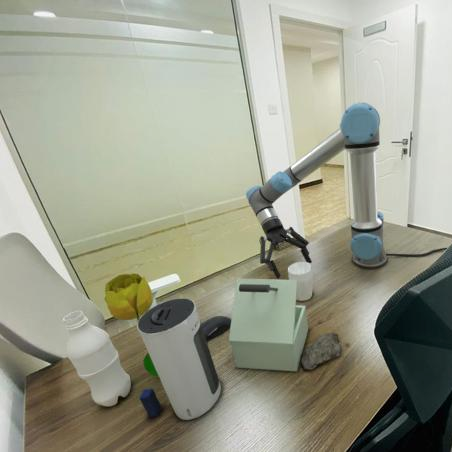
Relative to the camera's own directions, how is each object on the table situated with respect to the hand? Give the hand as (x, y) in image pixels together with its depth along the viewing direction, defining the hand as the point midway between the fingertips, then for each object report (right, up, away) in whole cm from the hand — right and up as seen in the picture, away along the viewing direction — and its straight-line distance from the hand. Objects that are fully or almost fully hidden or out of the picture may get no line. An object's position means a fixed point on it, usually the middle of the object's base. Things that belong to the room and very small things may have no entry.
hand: (295, 270), depth 96 cm
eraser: (-27, -27, -36) cm, 52 cm away
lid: (-4, -5, -29) cm, 29 cm away
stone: (+11, -19, -24) cm, 33 cm away
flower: (-31, -23, -28) cm, 47 cm away
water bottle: (-39, -26, -32) cm, 57 cm away
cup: (+3, -10, +1) cm, 10 cm away
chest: (-3, -19, -21) cm, 28 cm away
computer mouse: (-24, -19, -17) cm, 35 cm away
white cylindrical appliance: (-18, -25, -34) cm, 46 cm away
